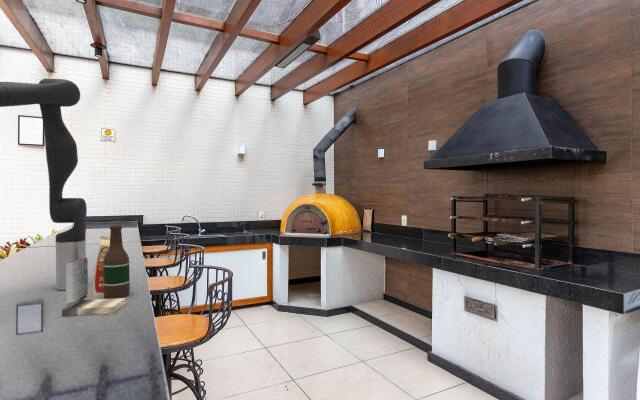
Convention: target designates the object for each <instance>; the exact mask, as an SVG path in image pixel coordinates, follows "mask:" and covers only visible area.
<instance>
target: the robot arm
mask: <svg viewBox="0 0 640 400" xmlns="http://www.w3.org/2000/svg"><path fill="white" fill-rule="evenodd" d="M80 100H81V91H80V89H79V86H78V85H77V84H76V83H75V82H73V81H71V80H69V79H64V78H43V79H41V80H40V81H39V82H38V83H29V82H15V81H0V108H4V107H5V108H6V107H18V106H28V105H30V106H31V105H39V109H40V114H41V118H42V125H43V133H44V140H45V157H46V165H47V173H48V186H49V189H48V190H49V191H48V192H49V194H48V195H49V196H48V198H49V199H48V200H49V201H48V202H49V204H48V205H49V207H48V208H49V217H50V219H51V221H52V222H53V223H55V224H67V223H68V224H73V226H72V227H71V228H69V229H68V230H66V231H62V232H59V233H57V234H56V235H55V289H56V290H57V291H66V263H67V262H70V261H73V260H76V259H79V258H87V248H86V246H87V245H86V244H87V243H86V241H87V240H86V233H87V212H88V211H87V210H88V209H87V202H86V200H85V199H84V198H82V197H63V191H64V186H65V185H66V183H67V181H68V179H69V178H70V176H71V175H72V174H73V172H74V171H75V169H76V168H77V166H78V160H79V159H78V157H79V156H78V147H77V142H76V141H75V139H74V137H73V135H72V134H71V132H70V131H69V129H68V128H67V127H66V124H65V122H64V120H63V116H62V108H61V107H73V106H75V105H77V104H78V103H79V101H80ZM88 260H89V259H87V272H88V273H89V270H88V269H89V263H88Z"/></svg>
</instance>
